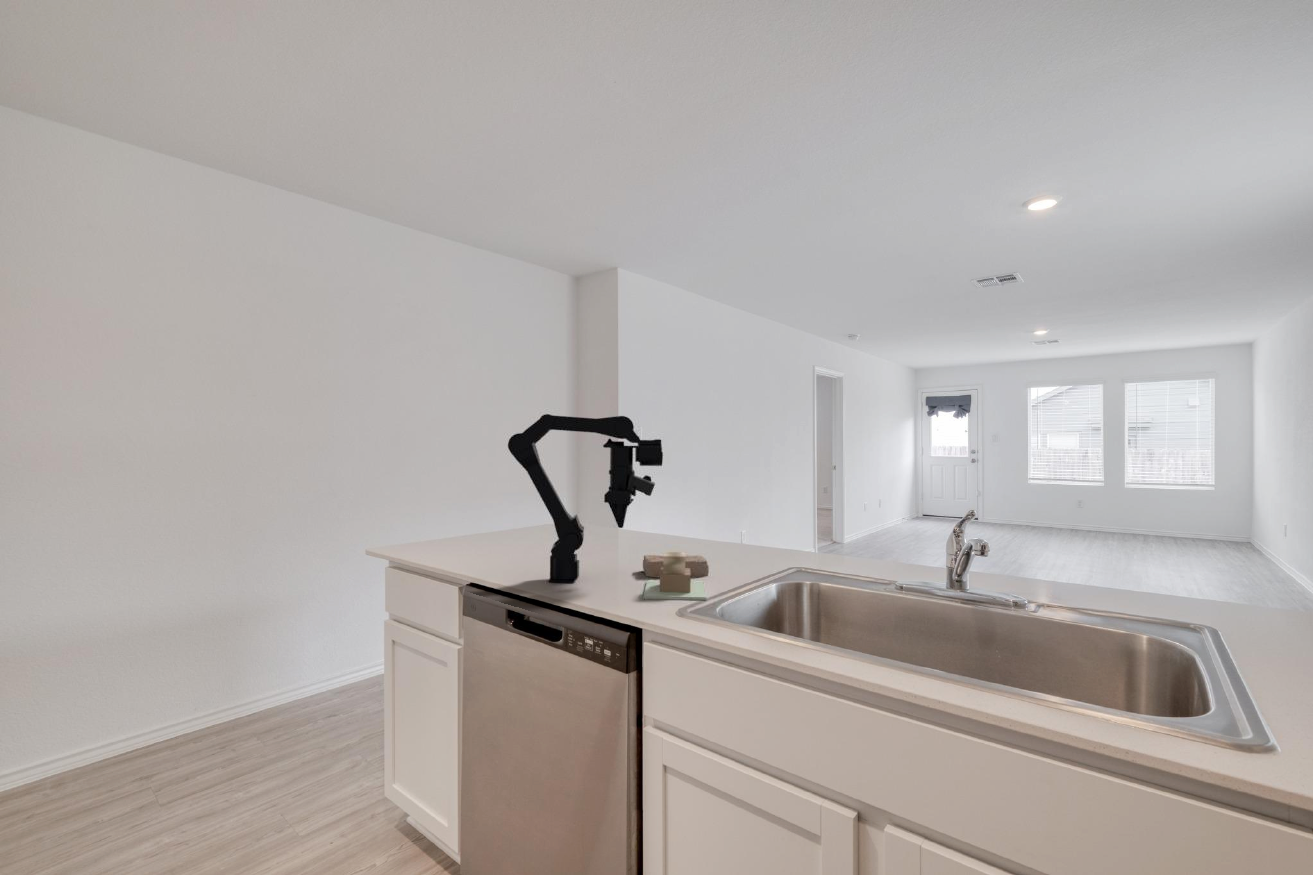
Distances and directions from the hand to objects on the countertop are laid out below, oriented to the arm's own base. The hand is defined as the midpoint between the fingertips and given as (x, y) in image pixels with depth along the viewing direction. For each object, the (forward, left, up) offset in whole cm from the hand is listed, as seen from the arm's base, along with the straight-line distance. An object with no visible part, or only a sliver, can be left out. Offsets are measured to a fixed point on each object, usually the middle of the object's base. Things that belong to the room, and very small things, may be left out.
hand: (620, 527), depth 146 cm
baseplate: (+14, -10, -13) cm, 22 cm away
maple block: (+14, -10, -8) cm, 19 cm away
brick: (+14, +8, -14) cm, 21 cm away
